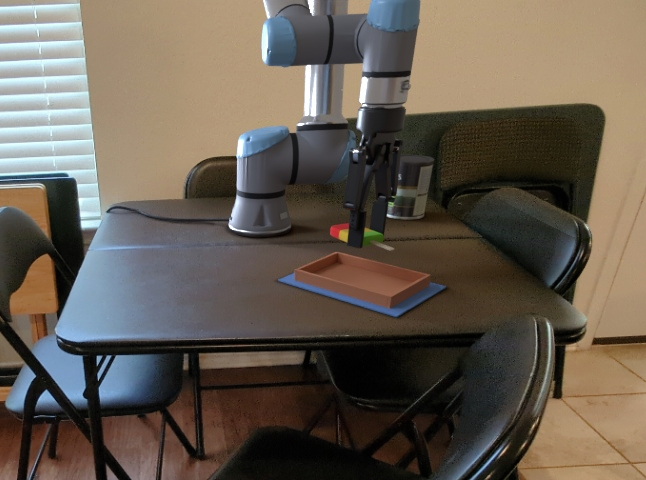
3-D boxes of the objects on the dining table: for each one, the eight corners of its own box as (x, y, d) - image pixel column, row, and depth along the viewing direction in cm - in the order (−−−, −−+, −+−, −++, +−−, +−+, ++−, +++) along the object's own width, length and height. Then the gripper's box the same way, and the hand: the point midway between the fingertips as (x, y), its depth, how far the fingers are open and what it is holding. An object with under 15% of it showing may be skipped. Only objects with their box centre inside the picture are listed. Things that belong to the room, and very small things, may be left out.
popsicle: (350, 231, 114) (351, 221, 113) (405, 252, 102) (406, 242, 101) (327, 235, 113) (327, 225, 112) (379, 257, 100) (380, 247, 99)
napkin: (277, 281, 114) (278, 279, 114) (331, 258, 125) (331, 256, 125) (396, 317, 98) (397, 316, 98) (446, 287, 108) (446, 286, 108)
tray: (293, 281, 114) (294, 269, 112) (335, 263, 122) (336, 251, 121) (389, 310, 101) (391, 296, 99) (428, 287, 109) (431, 274, 108)
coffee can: (392, 221, 147) (401, 163, 141) (376, 210, 156) (383, 155, 150) (432, 218, 148) (442, 160, 141) (413, 208, 157) (422, 153, 150)
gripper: (371, 112, 88) (354, 259, 99) (432, 101, 99) (411, 234, 110) (328, 110, 93) (316, 250, 104) (391, 99, 104) (375, 226, 115)
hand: (365, 241), depth 107 cm, fingers closed on popsicle, 6 cm apart
